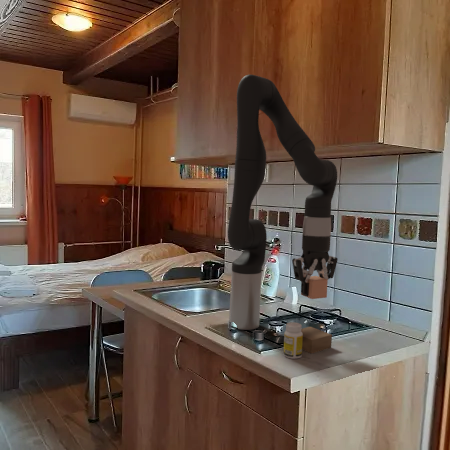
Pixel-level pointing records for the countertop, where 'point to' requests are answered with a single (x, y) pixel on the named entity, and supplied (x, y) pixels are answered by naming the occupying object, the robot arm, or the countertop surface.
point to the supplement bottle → (293, 340)
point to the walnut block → (315, 340)
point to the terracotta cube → (317, 287)
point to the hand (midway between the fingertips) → (313, 294)
